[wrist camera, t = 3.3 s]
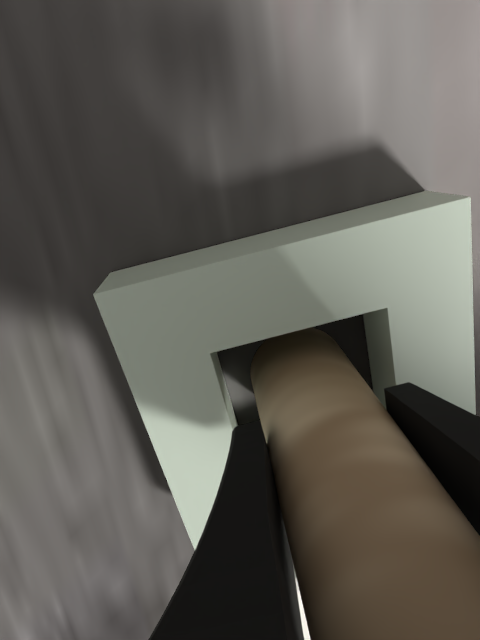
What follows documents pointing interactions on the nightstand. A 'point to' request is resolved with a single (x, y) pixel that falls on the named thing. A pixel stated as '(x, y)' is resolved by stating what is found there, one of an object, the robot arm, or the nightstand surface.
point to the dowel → (360, 504)
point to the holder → (291, 320)
